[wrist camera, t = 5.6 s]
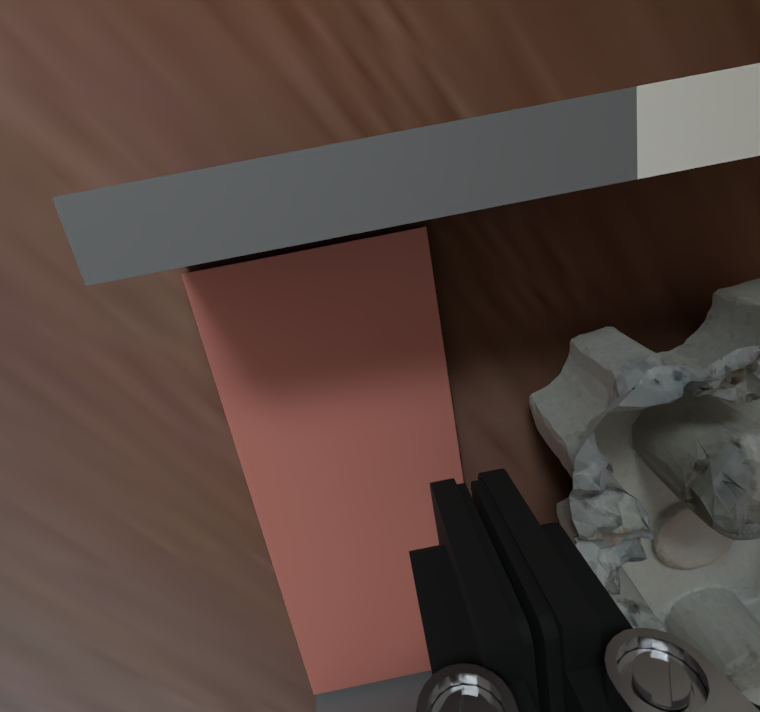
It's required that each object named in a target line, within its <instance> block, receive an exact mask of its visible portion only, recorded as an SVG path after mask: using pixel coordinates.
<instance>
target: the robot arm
mask: <svg viewBox="0 0 760 712" xmlns="http://www.w3.org/2000/svg"><path fill="white" fill-rule="evenodd" d="M478 479H479V480H477V481H472V482H471V490H472V497H471V495H470V493H469V490H468V488H467V486H466V484H465V483H461V484H457V483H456V481H455V479H454V478H451V479H446V480H441V481H436V482H430V491H431V497H432V503H433V509H434V516H435V522H436V528H437V534H438V541H439V545H437V546H432V547H427V548H422V549H417V550H412V551H409V555H410V561H411V566H412V572H413V577H414V582H415V588H416V593H417V598H418V604H419V609H420V614H421V619H422V625H423V630H424V635H425V640H426V645H427V651H428V656H429V661H430V666H431V671H432V676H431V678H430V679H429V680H428V681H427V682H426V683H425V684H424V686H423V688H422V690H421V692H420V694H419V697H418V700H417V707H416V712H760V706H759V705H757V704H755V703H752V702H750V701H749V700H748V699H747V698H746V697H745V696H744V695H743V694H742V693H741V692H740V691H739V690H738V689H737V688H736V687H735V686H734V685H733V684H732V683H731V682H730V681H729V680H728V679H727V678H726V677H725V676H724V675H723V674H722V673H721V672H720V671H719V670H718V669H717V668H716V667H715V666H714V665H713V664H712V663H711V662H710V661H709V660H708V659H707V658H706V657H705V656H704V655H703V654H701V653H700V652H699V651H698V650H696V649H695V648H694V647H693V646H691V645H690V644H689V643H687V642H686V641H684V640H682V639H680V638H678V637H676V636H674V635H672V634H670V633H667V632H663V631H660V630H657V629H651V628H633V627H632V626H631V624H630V623H629V621H628V620H627V619H626V617H625V616H624V614H623V613H622V612H621V610H620V609H619V607H618V606H617V604H616V603H615V602H614V600H613V599H612V597H611V596H610V594H609V593H608V592H607V590H606V589H605V587H604V586H603V584H602V583H601V582H600V580H599V579H598V577H597V576H596V574H595V573H594V572H593V570H592V569H591V567H590V566H589V564H588V563H587V562H586V560H585V559H584V557H583V556H582V554H581V553H580V552H579V550H578V549H577V547H576V546H575V544H574V543H573V542H572V540H571V539H570V537H569V536H568V534H567V533H566V532H565V530H564V529H563V528H562V526H561V525H560V524H558V523H556V522H554V523H549V524H544V525H540V524H539V523H538V521H537V519H536V518H535V516H534V515H533V513H532V512H531V510H530V508H529V507H528V505H527V504H526V502H525V500H524V499H523V497H522V496H521V494H520V493H519V491H518V489H517V488H516V486H515V485H514V483H513V482H512V480H511V478H510V477H509V475H508V474H507V472H506V471H505V469H498V470H493V471H488V472H482V473H479V475H478ZM472 498H473V499H472Z"/></svg>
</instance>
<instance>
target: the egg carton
mask: <svg viewBox="0 0 760 712" xmlns="http://www.w3.org/2000/svg"><path fill="white" fill-rule="evenodd" d="M529 404H530V407H531V411H532V415H533V418H534V422H535V425H536V428H537V429H538V431H539V433H540V435H541V436H542V437H543V438H544V440H545V442H546V443H547V445H548V446H549V447H550V448H551V450H552V451H553V453H554V454H555V455H556V456H557V457H558V458H559V460H560V462H561V464H562V466H563V467H564V468H565V469H566V470H567V471H568V473H569V474H570V476H571V478H572V479H573V489H572V491H571V493H570V494H569V497H568V498H566V499H565V500H563V501H561V502H559V503H557V512H556V513H557V516H558V519H559V523H560V525H561V526H562V528H563V529H564V530H565V532H566V533H567V534H568V536H569V537H570V539H571V540H572V542H573V543H574V544H575V546H576V547H577V549H578V550H579V552H580V553H581V554H582V556H583V557H584V559H585V560H586V562H587V563H588V564H589V566H590V567H591V569H592V570H593V572H594V573H595V574H596V576H597V577H598V579H599V580H600V582H601V583H602V584H603V586H604V587H605V589H606V590H607V592H608V593H609V594H610V596H611V597H612V599H613V600H614V602H615V603H616V604H617V606H618V607H619V609H620V610H621V612H622V613H623V614H624V616H625V617H626V619H627V620H628V621H629V623H630V624H631V626H632V627H633V628H651V629H657V630H660V631H663V632H667V633H670V634H672V635H674V636H676V637H678V638H680V639H682V640H684V641H686V642H687V643H689V644H690V645H691V646H693V647H694V648H695V649H696V650H698V651H699V652H700V653H701V654H703V655H704V656H705V657H706V658H707V659H708V660H709V661H710V662H711V663H712V664H713V665H714V666H715V667H716V668H717V669H718V670H719V671H720V672H721V673H722V674H723V675H724V676H725V677H726V678H727V679H728V680H729V681H730V682H731V683H732V684H733V685H734V686H735V687H736V688H737V689H738V690H739V691H740V692H741V693H742V692H743V691H745V690H749V689H753V688H758V687H760V278H758V279H754V280H751V281H747V282H744V283H741V284H738V285H735V286H732V287H727V288H721V289H718V290H717V291H715V292H714V293H713V295H712V306H711V308H710V310H709V311H708V313H707V316H706V319H705V321H704V322H703V323H702V325H701V326H700V327H699V328H698V330H697V331H696V332H695V333H694V334H692V335H691V336H690V337H689V338H687V339H686V341H685V343H684V344H682V345H679V346H678V347H676V348H674V349H672V350H670V351H667V352H659V353H655V352H653V351H651V350H650V349H648V348H646V347H644V346H643V345H641V344H639V343H637V342H636V341H634V340H632V339H631V338H629V337H628V336H626V335H625V334H623V333H621V332H620V331H618V330H617V329H616V328H614V327H604V328H601V329H598V330H595V331H592V332H589V333H586V334H579V335H578V336H577V337H575V338H573V339H571V341H570V350H569V354H568V358H567V360H566V362H565V364H564V366H563V368H562V370H561V373H560V374H559V375H558V376H557V377H556V378H555V379H554V380H553V381H552V382H551V383H550V384H549V385H548V386H546V387H544V388H542V389H541V390H539V391H537V392H534V393H532V394H531V395H530V397H529Z"/></svg>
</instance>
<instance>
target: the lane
mask: <svg viewBox="0 0 760 712" xmlns="http://www.w3.org/2000/svg"><path fill="white" fill-rule="evenodd" d="M755 156H760V63H756V64H751V65H746V66H741V67H735V68H730V69H725V70H720V71H714V72H709V73H704V74H699V75H693V76H688V77H683V78H677V79H672V80H667V81H662V82H656V83H651V84H646V85H641V86H635V87H630V88H625V89H620V90H614V91H609V92H604V93H598V94H593V95H588V96H583V97H577V98H572V99H567V100H562V101H556V102H551V103H546V104H541V105H535V106H530V107H525V108H519V109H514V110H509V111H504V112H498V113H493V114H488V115H483V116H477V117H472V118H467V119H462V120H456V121H451V122H446V123H440V124H435V125H430V126H425V127H419V128H414V129H409V130H404V131H398V132H393V133H388V134H383V135H377V136H372V137H367V138H361V139H356V140H351V141H346V142H340V143H335V144H330V145H325V146H319V147H314V148H309V149H303V150H298V151H293V152H288V153H282V154H277V155H272V156H267V157H261V158H256V159H251V160H246V161H240V162H235V163H230V164H224V165H219V166H214V167H209V168H203V169H198V170H193V171H188V172H182V173H177V174H172V175H167V176H161V177H156V178H151V179H145V180H140V181H135V182H130V183H124V184H119V185H114V186H109V187H103V188H98V189H93V190H88V191H82V192H77V193H72V194H66V195H61V196H56V197H52V199H53V202H54V204H55V207H56V210H57V212H58V215H59V218H60V220H61V223H62V225H63V228H64V231H65V233H66V236H67V238H68V241H69V244H70V246H71V249H72V252H73V254H74V257H75V259H76V262H77V265H78V267H79V270H80V272H81V275H82V278H83V280H84V283H85V286H88V285H94V284H99V283H104V282H109V281H114V280H119V279H125V278H130V277H135V276H140V275H145V274H150V273H156V272H161V271H166V270H171V269H176V268H181V267H187V266H192V265H197V264H202V263H207V262H212V261H218V260H223V259H228V258H233V257H238V256H243V255H249V254H254V253H259V252H264V251H269V250H274V249H280V248H285V247H290V246H295V245H300V244H305V243H311V242H316V241H321V240H326V239H331V238H336V237H342V236H347V235H352V234H357V233H362V232H367V231H373V230H378V229H383V228H388V227H393V226H398V225H404V224H409V223H414V222H419V221H424V220H429V219H435V218H440V217H445V216H450V215H455V214H460V213H466V212H471V211H476V210H481V209H486V208H491V207H497V206H502V205H507V204H512V203H517V202H522V201H528V200H533V199H538V198H543V197H548V196H553V195H559V194H564V193H569V192H574V191H579V190H584V189H590V188H595V187H600V186H605V185H610V184H615V183H621V182H626V181H631V180H636V179H641V178H646V177H652V176H657V175H662V174H667V173H672V172H678V171H683V170H688V169H693V168H698V167H703V166H709V165H714V164H719V163H724V162H729V161H734V160H740V159H745V158H750V157H755ZM181 275H182V278H183V282H184V285H185V288H186V291H187V294H188V297H189V301H190V304H191V307H192V310H193V313H194V316H195V320H196V323H197V326H198V329H199V332H200V335H201V339H202V342H203V345H204V348H205V351H206V355H207V358H208V361H209V364H210V367H211V370H212V374H213V377H214V380H215V383H216V386H217V389H218V393H219V396H220V399H221V402H222V405H223V408H224V412H225V415H226V418H227V421H228V424H229V427H230V431H231V434H232V437H233V440H234V443H235V446H236V450H237V453H238V456H239V459H240V462H241V466H242V469H243V472H244V475H245V478H246V481H247V485H248V488H249V491H250V494H251V497H252V500H253V504H254V507H255V510H256V513H257V516H258V519H259V523H260V526H261V529H262V532H263V535H264V538H265V542H266V545H267V548H268V551H269V554H270V558H271V561H272V564H273V567H274V570H275V573H276V577H277V580H278V583H279V586H280V589H281V592H282V596H283V599H284V602H285V605H286V608H287V611H288V615H289V618H290V621H291V624H292V627H293V630H294V634H295V637H296V640H297V643H298V646H299V649H300V653H301V656H302V659H303V662H304V665H305V669H306V672H307V675H308V678H309V681H310V684H311V688H312V691H313V694H314V695H316V711H315V712H416V707H417V700H418V697H419V694H420V692H421V690H422V688H423V686H424V684H425V683H426V682H427V681H428V680H429V679H430V678H431V676H432V671H431V666H430V661H429V656H428V651H427V645H426V640H425V635H424V630H423V625H422V619H421V614H420V609H419V604H418V598H417V593H416V588H415V582H414V577H413V572H412V566H411V561H410V555H409V551H412V550H417V549H422V548H427V547H432V546H437V545H439V541H438V534H437V528H436V522H435V516H434V509H433V503H432V497H431V491H430V482H436V481H441V480H446V479H451V478H454V479H455V481H456V483H457V484H461V483H464V481H463V474H462V467H461V461H460V454H459V447H458V440H457V433H456V426H455V420H454V413H453V406H452V399H451V392H450V385H449V379H448V372H447V365H446V358H445V351H444V345H443V338H442V331H441V324H440V317H439V310H438V304H437V297H436V290H435V283H434V276H433V269H432V263H431V256H430V249H429V242H428V235H427V228H426V227H419V228H414V229H409V230H403V231H398V232H393V233H388V234H383V235H378V236H372V237H367V238H362V239H357V240H352V241H347V242H341V243H336V244H331V245H326V246H321V247H316V248H310V249H305V250H300V251H295V252H290V253H285V254H279V255H274V256H269V257H264V258H259V259H254V260H248V261H243V262H238V263H233V264H228V265H223V266H218V267H212V268H207V269H202V270H197V271H192V272H187V273H183V274H181ZM742 694H743V695H744V696H745V697H746V698H747V699H748V700H749V701H750V702H752V703H755V704H757V705H759V706H760V687H758V688H753V689H749V690H745V691H743V692H742Z"/></svg>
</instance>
